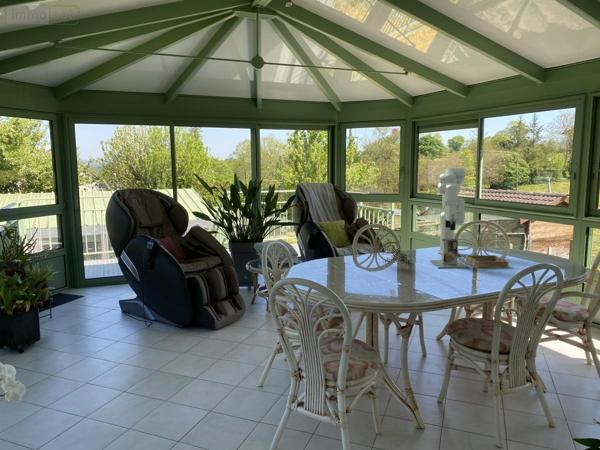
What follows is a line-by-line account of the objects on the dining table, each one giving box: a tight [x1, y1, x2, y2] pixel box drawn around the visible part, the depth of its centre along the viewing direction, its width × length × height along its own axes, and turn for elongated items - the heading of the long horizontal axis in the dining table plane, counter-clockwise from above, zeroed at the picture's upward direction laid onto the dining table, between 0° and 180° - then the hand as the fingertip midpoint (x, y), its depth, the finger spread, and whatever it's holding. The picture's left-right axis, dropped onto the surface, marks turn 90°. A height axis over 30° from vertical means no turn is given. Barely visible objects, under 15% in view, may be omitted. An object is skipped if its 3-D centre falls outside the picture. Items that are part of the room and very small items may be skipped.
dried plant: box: [350, 225, 415, 268], centre depth 291 cm, size 30×31×45 cm
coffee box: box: [440, 238, 459, 264], centre depth 296 cm, size 9×6×16 cm
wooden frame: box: [465, 254, 509, 269], centre depth 296 cm, size 20×20×4 cm
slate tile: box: [429, 259, 470, 269], centre depth 297 cm, size 20×20×1 cm
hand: (450, 228), depth 294 cm, fingers open, 9 cm apart
